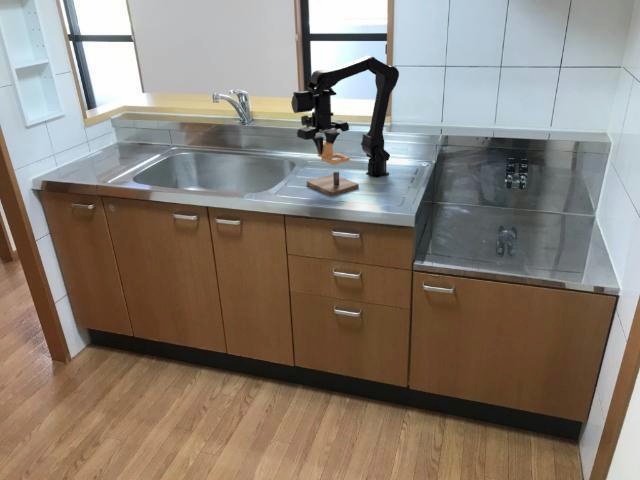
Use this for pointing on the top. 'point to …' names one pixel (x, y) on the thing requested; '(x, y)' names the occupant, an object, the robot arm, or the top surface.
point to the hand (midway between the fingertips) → (324, 153)
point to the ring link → (331, 154)
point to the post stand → (332, 184)
